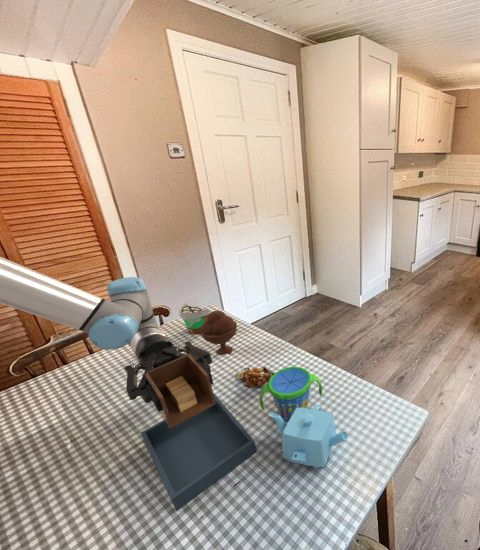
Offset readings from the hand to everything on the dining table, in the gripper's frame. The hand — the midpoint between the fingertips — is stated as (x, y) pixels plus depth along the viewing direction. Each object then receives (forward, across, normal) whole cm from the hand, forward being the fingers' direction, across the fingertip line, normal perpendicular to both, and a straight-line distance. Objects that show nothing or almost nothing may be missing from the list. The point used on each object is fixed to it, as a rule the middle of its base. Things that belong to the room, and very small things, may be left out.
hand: (186, 391), depth 62 cm
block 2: (-3, 0, -5) cm, 6 cm away
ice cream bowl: (-34, -20, -18) cm, 44 cm away
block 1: (-7, 0, -5) cm, 9 cm away
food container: (-54, -18, -18) cm, 60 cm away
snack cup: (+5, -21, -18) cm, 28 cm away
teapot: (+18, -16, -18) cm, 30 cm away
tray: (-2, 0, -18) cm, 18 cm away
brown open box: (-5, 0, -6) cm, 8 cm away
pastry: (-14, -20, -18) cm, 30 cm away
